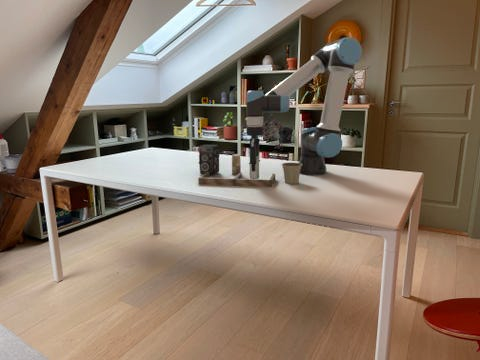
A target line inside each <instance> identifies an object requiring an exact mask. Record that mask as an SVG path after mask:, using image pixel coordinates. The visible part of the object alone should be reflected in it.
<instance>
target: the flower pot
mask: <svg viewBox="0 0 480 360" xmlns="http://www.w3.org/2000/svg"><path fill="white" fill-rule="evenodd" d="M281 166H282V169H283V175H284V176H283V177H284V183H286V184H290V185H295V184H298V183H299V182H300V175H301V173H300V169H301V166H302V164H301V163H299V162H284V163H282V164H281Z"/></svg>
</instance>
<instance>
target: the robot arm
mask: <svg viewBox="0 0 480 360" xmlns="http://www.w3.org/2000/svg"><path fill="white" fill-rule="evenodd" d="M362 55H363V49H362V45H361V44H360V41H358V39H357V38H355V37H349V36H348V37H342V38H340V39H337V40H333V41H330V42H328V43H327V44H325V45H324V46H323V47H321V48H320V49H319V50H318V51H316V53H314V54H313V55H312V56H311V57H310V59H309V60H308V61H307V62H306V63H304V65H302V66H301V67H299V68H298V69H297V70H295V71H294V72H293V73H292V74H291V75H289V76H288V77H286V78H285V79H284V80H283V81H281V82H280V83H279V84H278V85H276V86H275V87H273V88H272V89H271V90H269V91H268V92H267V93H266V94H264V91H263V90H248V91H247V92H246V98H245V99H246V101H245V102H246V103H245V104H246V109H245V110H246V118H245V119H244V120H245V122H246V128H245V129H246V135H247V136H250V139H249V163H248V164H249V165H250V164H251V178H257V164H256V158H257V156H259V157H260V140H261V139H260V138H259V136H262V135H264V127H263V126H264V113H286V112H288V111H289V110H290V106H291V101H290V96H291V95H292V94H294V93H295V92H296V91H298V90H299V89H301V87H303V86H305V84H307V83H308V82H310V81H311V80H312V79H314V78H315V77H316V76H317V75H319V74H323V73H325V72H326V71H327V70H329V72H330V73H329V77H328V81H327V87H326V90H325V91H326V92H325V98H324V101H323V102H324V103H323V106H322V112H321V116H320V122H319V124H317V125H316V127H307V128H306V127H305V128H303V129H301V134H300V138H301V139H300V158H299V161H298V163H301V164H302V166H301V169H300V175H310V176H313V175H314V176H316V175H317V176H318V175H319V176H321V175H325V174H327V165H326V162H325V158H326V159H327V158H333V157H336V156H337V155H338V154H339V153H340V151H341V150H342V148H343V140H342V138H341V128H340V126H339V125H340V120H341V115H342V111H343V106H344V102H345V101H344V100H345V95H346V91H347V88H348V87H347V86H348V81H349V77H350V74H351V73H353V72H354V69H355V66H356V64H357V63H358V62H359V61H360V59H361V58H362ZM259 163H261V159H259Z"/></svg>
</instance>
